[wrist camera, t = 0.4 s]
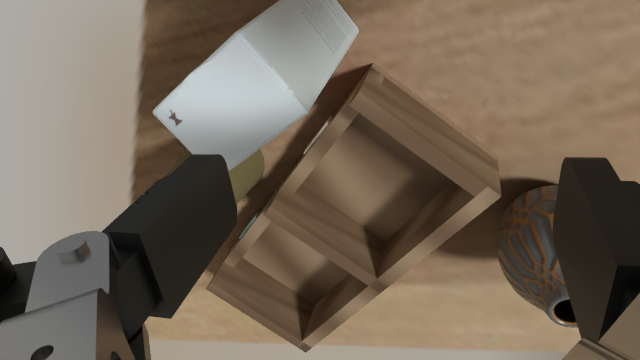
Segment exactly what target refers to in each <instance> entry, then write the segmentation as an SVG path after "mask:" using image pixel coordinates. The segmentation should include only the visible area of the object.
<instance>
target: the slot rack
mask: <svg viewBox="0 0 640 360" xmlns="http://www.w3.org/2000/svg"><path fill="white" fill-rule="evenodd" d="M500 197H501V188H500V178H499V169H498V160H497V156H496V155H495V154H494V153H492V152H491V151H490V150H488V149H487V148H486V147H484V146H483V145H482V144H480V143H479V142H478V141H476V140H475V139H474V138H472V137H471V136H470V135H468V134H467V133H466V132H464V131H463V130H462V129H460V128H459V127H458V126H456V125H455V124H454V123H452V122H451V121H450V120H448V119H447V118H446V117H444V116H443V115H442V114H440V113H439V112H438V111H436V110H435V109H434V108H432V107H431V106H430V105H428V104H427V103H426V102H424V101H423V100H422V99H420V98H419V97H418V96H416V95H415V94H413V93H412V92H411V91H409V90H408V89H407V88H405V87H404V86H403V85H401V84H400V83H399V82H397V81H396V80H395V79H393V78H392V77H391V76H389V75H388V74H387V73H385V72H384V71H383V70H381V69H380V68H379V67H377V66H376V65H375V64H372V65H371V67H370V68H369V69H368V71H367V72H366V73H365V74H364V76H363V77H362V78H361V80H360V81H359V82H358V84H357V85H356V86H355V88H354V89H353V90H352V92H351V93H350V94H349V95H348V97H347V98H346V99H345V101H344V102H343V103H342V105H341V106H340V107H339V109H338V110H337V111H336V112H335V114H334V115H333V116H331V115H330V117H329V118H328V119H327V121H326V122H325V123H324V125H323V126H322V127H321V129H320V130H319V131H318V133H317V134H316V135H315V137H314V138H313V139H312V141H311V142H310V143H309V145H308V146H307V148H306V149H305V151H304V153H303V156H302V157H301V158H300V160H299V161H298V162H297V164H296V165H295V166H294V168H293V169H292V170H291V171H290V173H289V174H288V175H287V177H286V178H285V179H284V181H283V182H282V183H281V185H280V186H279V187H278V189H277V190H276V191H275V192H274V194H273V195H272V196H271V198H270V199H269V200H268V202H267V203H266V204H265V206H264V207H263V208H262V209H259V210H258V212H257V213H256V214H255V216H254V217H253V218H252V220H251V221H250V222H249V224H248V225H247V226H246V228H245V229H244V230H243V232H242V234H241V235H240V237H239V240H238V241H237V242H236V244H235V245H234V246H233V247H232V249H231V250H230V251H229V253H228V255H227V256H226V258H225V259H224V261H223V263H222V264H221V266H220V267H219V269H218V271H217V272H216V274H215V275H214V277H213V279H212V280H211V282H210V283H209V285H208V287H207V288H206V289H207V290H208V291H210V292H212V293H213V294H215V295H216V296H218V297H219V298H221V299H223V300H224V301H226V302H227V303H229V304H230V305H232V306H234V307H235V308H237V309H238V310H240V311H241V312H243V313H245V314H246V315H248V316H249V317H251V318H252V319H254V320H256V321H257V322H259V323H260V324H262V325H263V326H265V327H267V328H268V329H270V330H271V331H273V332H274V333H276V334H278V335H279V336H281V337H282V338H284V339H285V340H287V341H289V342H290V343H292V344H293V345H295V346H297V347H298V348H299V349H301V350H303V351H304V352H307V351H308V350H310V349H311V348H312V347H313V346H315V345H316V344H317V343H318V342H320V341H321V340H322V339H323V338H325V337H326V336H327V335H328V334H330V333H331V332H332V331H333V330H335V329H336V328H337V327H338V326H340V325H341V324H342V323H343V322H345V321H346V320H347V319H348V318H350V317H351V316H352V315H354V314H355V313H356V312H357V311H359V310H360V309H361V308H362V307H364V306H365V305H366V304H367V303H369V302H370V301H371V300H372V299H374V298H375V297H376V296H377V295H379V294H380V293H381V292H382V291H384V290H385V289H386V288H387V287H389V286H390V285H391V284H392V283H394V282H395V281H396V280H397V279H399V278H400V277H401V276H402V275H404V274H405V273H406V272H407V271H409V270H410V269H411V268H412V267H414V266H415V265H416V264H417V263H419V262H420V261H421V260H423V259H424V258H425V257H426V256H428V255H429V254H430V253H431V252H433V251H434V250H435V249H436V248H438V247H439V246H440V245H441V244H443V243H444V242H445V241H446V240H448V239H449V238H450V237H451V236H453V235H454V234H455V233H456V232H458V231H459V230H460V229H461V228H463V227H464V226H465V225H466V224H468V223H469V222H470V221H471V220H473V219H474V218H475V217H476V216H478V215H479V214H480V213H481V212H483V211H484V210H485V209H487V208H488V207H489V206H490V205H492V204H493V203H494V202H495V201H497V200H498V199H499V198H500Z"/></svg>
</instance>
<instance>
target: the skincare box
mask: <svg viewBox="0 0 640 360" xmlns="http://www.w3.org/2000/svg"><path fill="white" fill-rule="evenodd" d="M358 33H359V30H358V28H357V26H356V25H355V24H354V22H353V21H352V20H351V19H350V17H349V16H348V15H347V13H346V12H345V11H344V9H343V8H342V7H341V5H340V4H339V2H338V1H337V0H279V1H278V2H276V3H275V4H274V5H272V6H271V7H269V8H268V9H266V10H265V11H264V12H262V13H261V14H260V15H258V16H257V17H256V18H254V19H253V20H251V21H250V22H249V23H247V24H246V25H245V26H243V27H242V28H240V29H239V30H237V31H236V32H235V33H234V34H233V35H232V36H231V37H230V38H229V39H228V40H226V41H225V42H224V43H223V44H222V45H221V46H220V47H219V48H218V49H217V50H216V51H215V52H214V53H213V54H212V55H211V56H210V57H208V58H207V59H206V60H205V61H204V62H203V63H202V64H201V65H200V66H199V67H197V68H196V69H195V70H194V71H192V72H191V73H190V74H189V75H188V76H187V77H186V78H185V79H184V80H183V81H182V82H181V83H180V84H179V85H178V86H177V87H176V88H175V89H174V90H173V91H172V92H171V93H170V94H169V95H168V96H167V97H165V98H164V99H163V100H162V101H161V102H160V103H159V104H158V105H157V106H156V107H155V108H154V110H153V115H154V116H155V117H156V118H157V119H158V120H159V121H160V122H161V123H162V124H163V125H164V126H165V127H166V128H167V129H168V130H169V131H170V132H171V133H172V134H173V135H174V136H175V137H176V138H177V139H178V140H179V141H180V142H181V143H182V144H183V145H184V146H185V147H186V148H187V149H188V150H189V151H190V152H191V153H192V154H220V155H222V156H223V157H224V159H225V161H226V164H227V168H228V171H229V170H231V169H232V168H234V167H235V166H237V165H238V164H240V163H241V162H242V161H244V160H245V159H247V158H248V157H249V156H251V155H252V154H253V153H255V152H256V151H257V150H258V149H260V148H261V147H262V146H264V145H265V144H266V143H267V142H269V141H270V140H272V139H273V138H274V137H276V136H277V135H279V134H280V133H281V132H283V131H284V130H285V129H287V128H288V127H289V126H291V125H292V124H294V123H295V122H296V121H298V120H299V119H300V118H302V117H303V116H305V115H306V114H307V113H308V111H309V110H310V108H311V107H312V105H313V104H314V102H315V101H316V99H317V97H318V96H319V94H320V93H321V91H322V89H323V88H324V87H325V85H326V83H327V82H328V80H329V79H330V77H331V75H332V74H333V72H334V71H335V69H336V68H337V66H338V65H339V63H340V61H341V60H342V58H343V57H344V55H345V53H346V52H347V50H348V49H349V47H350V46H351V44H352V42H353V41H354V39H355V37H356V36H357V34H358Z"/></svg>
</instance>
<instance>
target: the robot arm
mask: <svg viewBox="0 0 640 360" xmlns="http://www.w3.org/2000/svg"><path fill="white" fill-rule="evenodd" d="M236 219H237V205H236V201H235V197H234V193H233V188H232V184H231V180H230V176H229V172H228V168H227V164H226V161H225V159H224V157H223V156H222V155H220V154H192V155H190V156H189V157H188V158H187V159H186V160H185V161H184V162H183V163H182V164H181V165H180V166H178V167H177V168H176V169H175V170H174V171H173V172H172V173H171V174H169V175H168V176H166V177H164V178H162V179H160V180H158V181H157V182H156V183H154V184H153V185H152V186H151V187H150V188H149V189H148V190H147V191H146V192H145V195H141V196H140V197H139V198H138V199H137V200H136V201H135V204H132V205H130V206H129V207H128V208H127V209H126V210H125V211H124V212H123V213H122V214H121V215H119V216H118V218H116V219H115V220H114V221H113V222H112V223H111V224H110V225H109V226H107V227H106V228H105V229H104V230H103V231H102V232H98V231H87V232H82V233H78V234H74V235H71V236H68V237H66V238H63V239H61V240H59V241H57V242H56V243H54V244H52V245H51V246H50V247H48V248H47V249H46V250H45V251H43V253H42V254H41V255H40V256H39V258H38V260H37V261H34V262H28V263H21V264H15V265H12V264H11V262H10V260H9V258H8V256H7V255H6V253H5V251H4V249H3V248H1V247H0V360H151V355H150V346H149V337H148V331H147V329H146V326H145V324H144V322H145V321H146V319H147V318H148V317H149V316H153V317H161V318H170V319H171V318H172V317H173V315H174V314H175V312H176V311H177V309H178V308H179V306H180V305H181V304H182V302H183V301H184V299H185V298H186V296H187V295H188V293H189V292H190V291H191V289H192V288H193V286H194V285H195V283H196V282H197V280H198V279H199V278H200V276H201V275H202V273H203V272H204V270H205V269H206V267H207V266H208V265H209V263H210V262H211V260H212V259H213V257H214V256H215V254H216V253H217V251H218V250H219V249H220V247H221V246H222V244H223V243H224V241H225V240H226V238H227V237H228V236H229V234H230V233H231V231H232V230H233V228H234V226H235V223H236ZM553 243H554V248H555V251H556V254H557V258H558V261H559V265H560V268H561V271H562V275H563V278H564V281H565V285H566V288H567V291H568V295H569V298H570V301H571V305H572V308H573V312H574V315H575V318H576V322H577V325H578V328H579V332H580V335H581V338H582V340H580V341H579V342H578V343H577V344H576V345H575V346H574V347H573V348H572V349H571V350H570V351H569V353H568V354H567V355H566V356H565V357H564V358H563V359H562V360H640V184H638V183H637V182H635V181H621V180H620V179H619V177H618V176H617V174H616V172H615V171H614V169H613V167H612V166H611V164H610V163H609V161H608V160H607V158H584V157H566V158H565V159H564V161H563V163H562V167H561V173H560V179H559V185H558V192H557V198H556V205H555V211H554V217H553Z"/></svg>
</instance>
